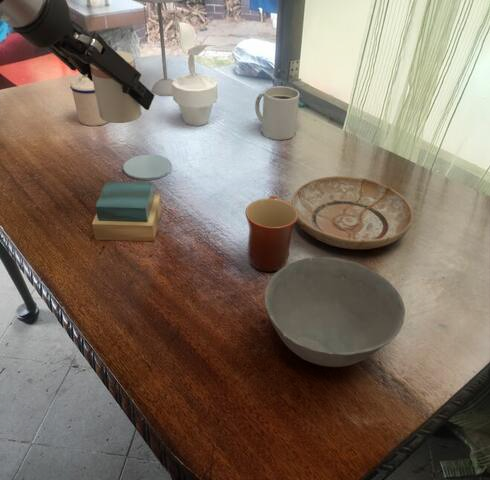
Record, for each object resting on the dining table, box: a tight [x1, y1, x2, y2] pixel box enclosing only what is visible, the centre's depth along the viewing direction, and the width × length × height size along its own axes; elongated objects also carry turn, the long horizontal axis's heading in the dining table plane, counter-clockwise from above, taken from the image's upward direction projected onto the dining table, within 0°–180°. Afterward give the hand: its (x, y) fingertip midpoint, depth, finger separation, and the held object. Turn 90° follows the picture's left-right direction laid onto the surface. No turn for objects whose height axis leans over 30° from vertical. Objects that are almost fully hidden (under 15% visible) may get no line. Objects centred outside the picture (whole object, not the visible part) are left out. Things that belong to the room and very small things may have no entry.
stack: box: [91, 180, 163, 242], centre depth 86 cm, size 11×11×6 cm
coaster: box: [122, 154, 173, 181], centre depth 104 cm, size 11×11×1 cm
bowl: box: [264, 256, 406, 368], centre depth 65 cm, size 19×19×10 cm
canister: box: [89, 50, 142, 124], centre depth 76 cm, size 7×7×9 cm
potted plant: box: [166, 13, 218, 127], centre depth 113 cm, size 13×12×25 cm
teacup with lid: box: [69, 74, 109, 127], centre depth 118 cm, size 12×9×12 cm
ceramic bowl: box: [290, 175, 414, 250], centre depth 89 cm, size 23×24×5 cm
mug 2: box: [245, 195, 298, 273], centre depth 79 cm, size 12×9×10 cm
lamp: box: [133, 0, 184, 97], centre depth 125 cm, size 17×17×33 cm
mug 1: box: [254, 85, 300, 141], centre depth 116 cm, size 11×10×10 cm
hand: (132, 96), depth 80 cm, fingers closed on canister, 7 cm apart
